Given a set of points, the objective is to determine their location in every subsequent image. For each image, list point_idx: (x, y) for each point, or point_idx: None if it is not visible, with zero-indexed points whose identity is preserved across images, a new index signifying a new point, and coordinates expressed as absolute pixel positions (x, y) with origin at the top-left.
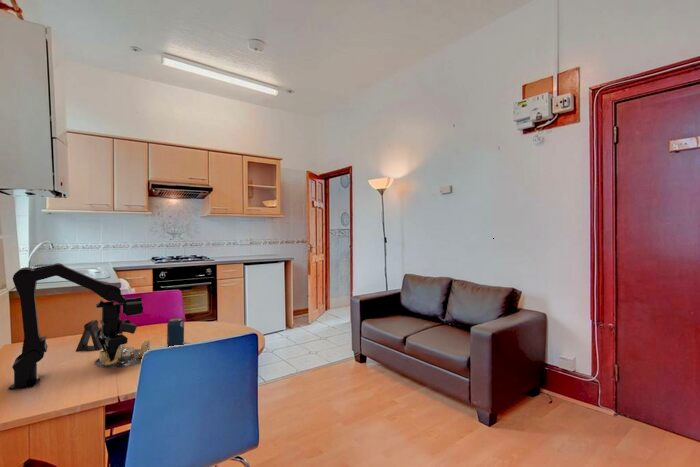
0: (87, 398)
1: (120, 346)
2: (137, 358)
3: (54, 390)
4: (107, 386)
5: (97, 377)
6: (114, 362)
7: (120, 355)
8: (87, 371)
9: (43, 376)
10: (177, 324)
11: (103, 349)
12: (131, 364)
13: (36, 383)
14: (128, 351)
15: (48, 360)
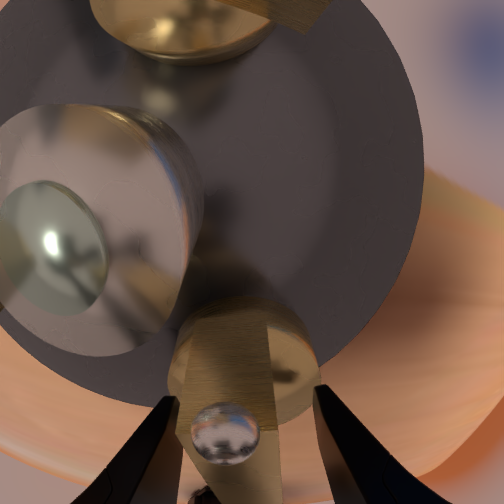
0: (501, 382)
1: (235, 461)
2: (212, 76)
3: None
4: (493, 339)
5: (355, 385)
6: (312, 352)
7: (267, 336)
8: None
9: None
10: None
11: (175, 502)
12: (387, 188)
13: None
14: (175, 221)
15: (16, 431)
